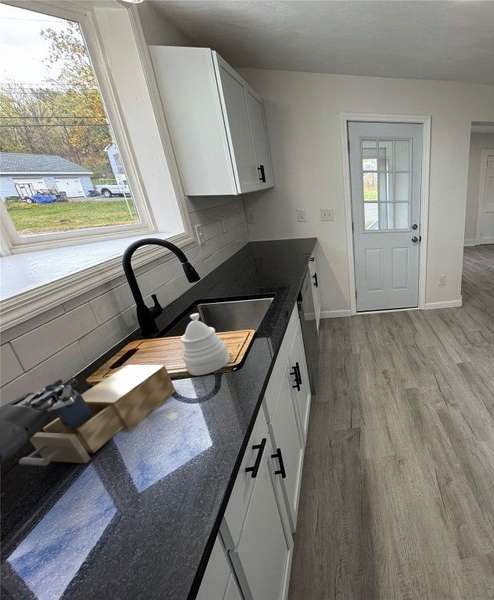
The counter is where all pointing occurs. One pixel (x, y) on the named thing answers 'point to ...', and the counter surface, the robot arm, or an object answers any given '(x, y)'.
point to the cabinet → (133, 392)
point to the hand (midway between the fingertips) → (67, 381)
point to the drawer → (75, 437)
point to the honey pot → (203, 348)
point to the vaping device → (72, 411)
